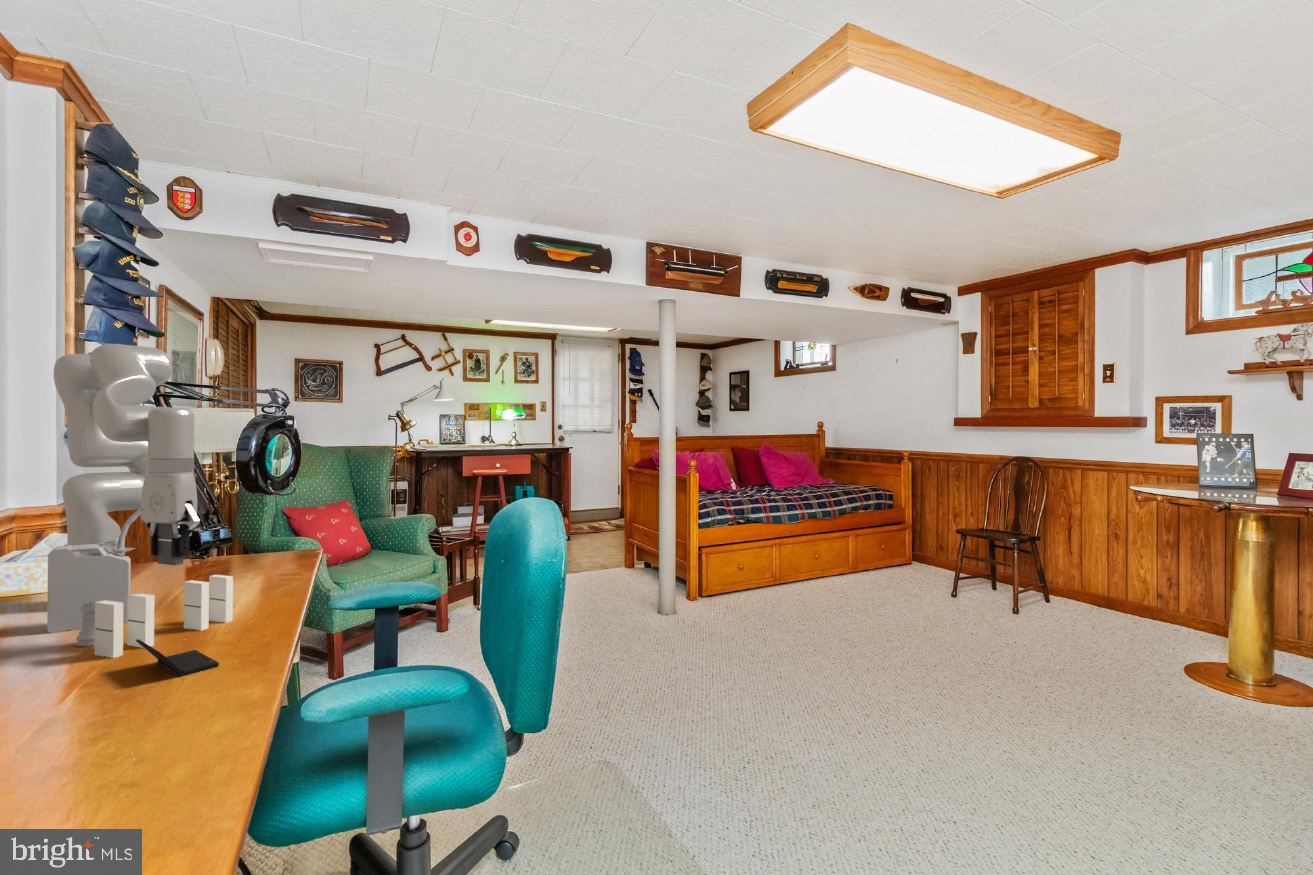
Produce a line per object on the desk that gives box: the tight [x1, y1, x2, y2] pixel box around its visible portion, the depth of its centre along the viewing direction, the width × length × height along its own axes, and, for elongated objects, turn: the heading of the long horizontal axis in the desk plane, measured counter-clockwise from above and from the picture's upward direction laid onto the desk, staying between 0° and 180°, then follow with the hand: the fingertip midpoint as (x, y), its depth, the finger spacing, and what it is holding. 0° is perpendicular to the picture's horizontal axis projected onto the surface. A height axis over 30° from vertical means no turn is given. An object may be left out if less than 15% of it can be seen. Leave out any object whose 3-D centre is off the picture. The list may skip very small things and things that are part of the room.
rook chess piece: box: [75, 602, 95, 648], centre depth 121 cm, size 4×4×8 cm
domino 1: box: [94, 600, 124, 659], centre depth 115 cm, size 2×5×10 cm, turn 74°
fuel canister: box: [46, 508, 141, 634], centre depth 133 cm, size 15×5×25 cm, turn 127°
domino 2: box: [126, 592, 155, 649], centre depth 121 cm, size 2×5×10 cm, turn 74°
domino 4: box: [183, 579, 210, 632], centre depth 131 cm, size 2×5×10 cm, turn 74°
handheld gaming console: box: [136, 639, 220, 678], centre depth 110 cm, size 12×7×10 cm
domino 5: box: [208, 574, 234, 624], centre depth 136 cm, size 2×5×10 cm, turn 74°
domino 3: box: [157, 519, 184, 566], centre depth 126 cm, size 2×5×10 cm, turn 74°
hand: (170, 554), depth 126 cm, fingers closed on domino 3, 4 cm apart
